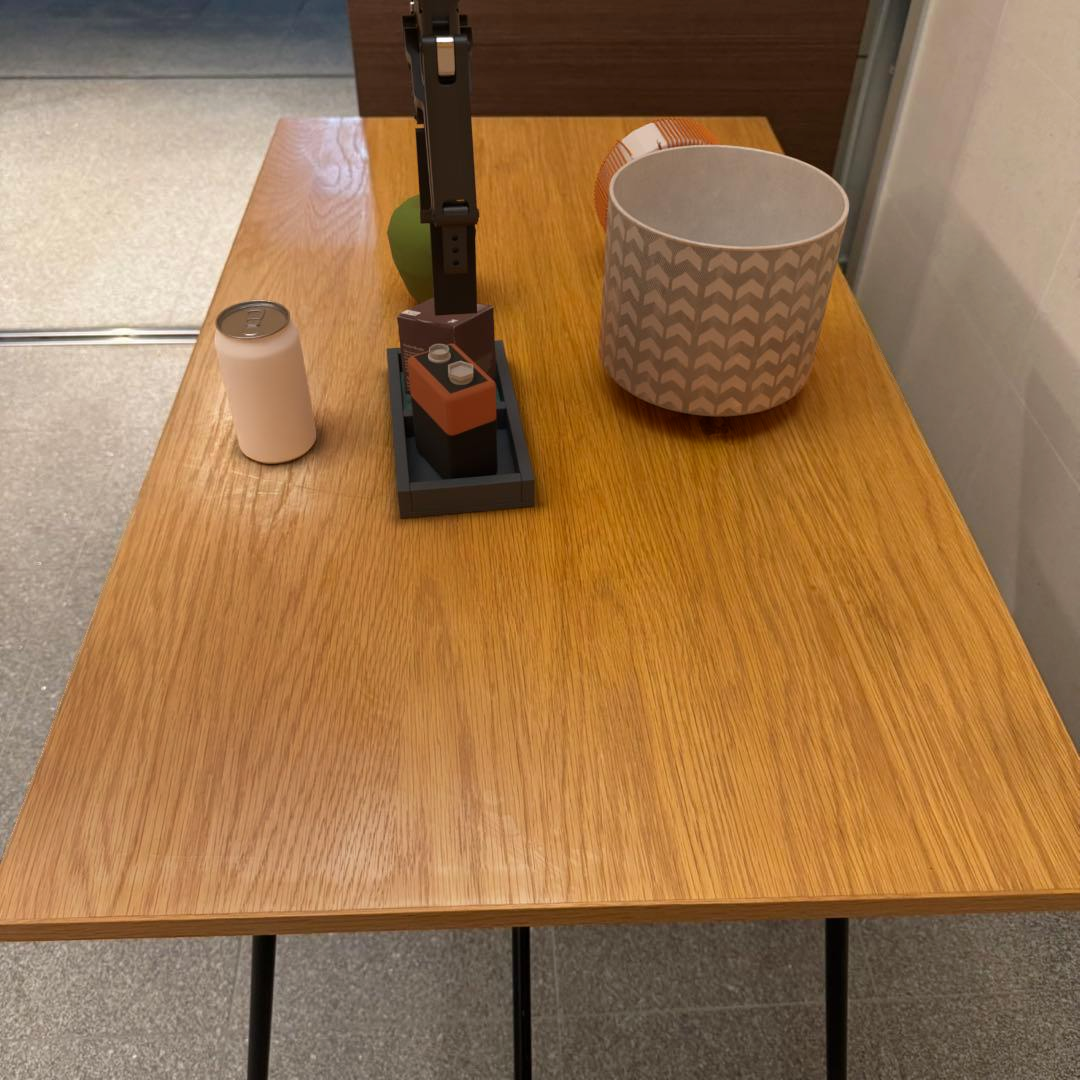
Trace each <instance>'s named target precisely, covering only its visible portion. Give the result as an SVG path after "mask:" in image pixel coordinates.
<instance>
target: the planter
mask: <svg viewBox="0 0 1080 1080" xmlns="http://www.w3.org/2000/svg"><path fill="white" fill-rule="evenodd" d="M849 212H850V200H849V197H848V194H847V193H846V191H845V189H844V188H843V187H842V186H841V184H840V183H838V181H836V179H835V178H833V177H832V176H830V175H829V174H828V173H826V172H825V171H824V170H821V169H820V168H818V167H816V166H814V165H812V164H811V163H810V164H809V163H807V162H805V161H804V160H803V161H802V160H800V159H798V158H794V157H792V156H788V155H786V154H783V153H782V154H781V153H778V152H774V151H770V150H765V149H760V148H754V147H748V146H747V147H746V146H739V145H729V144H722V145H691V146H681V147H673V148H668V149H663V150H658V151H655V152H651V153H648V154H645V155H642V156H640V157H637V158H635V159H633V160H631V161H630V162H628V163H626V164H625V165H623V166H622V167H621V168H620V169H619V170H618V171H617V172H616V173H615V174H614V175H613V177H612V179H611V182H610V185H609V197H608V213H607V229H606V233H605V247H604V260H603V261H604V263H603V277H602V278H603V279H602V295H601V310H600V311H601V313H600V327H599V342H598V352H599V358H600V361H601V365H602V366H603V368H604V370H605V371H606V373H607V374H608V376H609V377H610V378H611V379H612V380H613V381H614V382H615V383H616V385H618V386H619V387H621V388H622V389H623V390H625V391H626V392H628V393H629V394H631V395H632V396H634V397H636V398H638V399H640V400H642V401H645V402H646V403H649V404H651V405H654V406H656V407H659V408H661V409H666V410H669V411H673V412H677V413H682V414H688V415H692V416H693V415H695V416H702V417H703V416H704V417H735V416H736V417H737V416H745V415H751V414H755V413H760V412H764V411H767V410H770V409H773V408H775V407H778V406H780V405H783V404H784V403H786V402H787V401H789V400H791V399H792V398H793V397H795V396H797V394H798V393H800V392H801V391H802V389H803V388H804V387H805V386H806V384H807V382H808V380H809V379H810V376H811V373H812V369H813V365H814V360H815V356H816V351H817V349H818V345H819V344H818V343H819V340H820V334H821V331H822V327H823V322H824V318H825V314H826V310H827V306H828V302H829V297H830V293H831V289H832V284H833V280H834V276H835V272H836V268H837V263H838V259H839V255H840V251H841V248H842V242H843V239H844V234H845V230H846V225H847V222H848V217H849Z"/></svg>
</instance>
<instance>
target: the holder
mask: <svg viewBox="0 0 1080 1080" xmlns="http://www.w3.org/2000/svg"><path fill="white" fill-rule="evenodd" d="M495 354H496V377H497V383H496V422H497V464H498V470H497V473H496V474H495V475H491V476H480V477H469V478H457V479H446V480H444V479H443V478H442V477H441V476H440V475H439V474H438V473H437V471H436V470H435V469H434V468H433V467H432V466H431V465H430V464H429V462H428V461H427V460H426V459H425V458H424V457H423V456H422V455H421V453H420V452H419V451H418V450H417V448H416V444H415V434H414V423H413V413H412V402H411V395H410V394H406V393H405V387H404V379H403V368H402V359H401V349H400V347H387V348H386V360H387V361H386V363H387V374H388V389H389V400H390V414H391V429H392V440H393V441H392V442H393V455H394V468H395V469H394V470H395V481H396V494H397V503H398V511H399V518H400V519H410V518H421V517H433V516H443V515H453V514H454V515H455V514H463V513H475V512H477V513H478V512H488V511H497V510H509V509H518V508H530V507H535V491H536V489H535V487H536V486H535V483H536V482H535V481H536V480H535V475H534V471H533V466H532V463H531V458H530V457H531V456H530V453H529V449H528V445H527V441H526V435H525V431H524V427H523V424H522V419H521V415H520V410H519V406H518V401H517V397H516V393H515V389H514V385H513V384H514V383H513V381H512V376H511V371H510V368H509V362H508V359H507V354H506V350H505V346H504V340H503V339H497V340H496V339H495Z"/></svg>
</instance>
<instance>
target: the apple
mask: <svg viewBox="0 0 1080 1080" xmlns="http://www.w3.org/2000/svg"><path fill="white" fill-rule="evenodd" d="M386 235H387V239H388V240H387V241H388V242H389V243H388V244H389V249H390V253H391V258H392V261H393V263H394V265H395V268H396V269H397V271H398V273H399V276H400V278H401V280H402V282H403V285H404V286H405V288H406V290H407V292H408V294H409V295H410V296H411V297H412V298H413V299H414V300H415V302H417V303H418V305H419V304H421V303H423V302H425V301H427V300H429V299H431V298H433V297H434V294H433V276H432V259H431V241H430V223H425V224H421V223H420V197H419V194H416V195H414V196H411V197H408V198H407V199H405V200H404V201H403V202H401V204H400V205H398V206H397V207H396V208H395V209H394V210H393V212H392V214H391V216H390V219H389V223H388V226H387V230H386ZM476 236H477V228H476V227H475V237H476Z"/></svg>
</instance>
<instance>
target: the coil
mask: <svg viewBox="0 0 1080 1080" xmlns="http://www.w3.org/2000/svg"><path fill="white" fill-rule="evenodd" d="M691 145H723V143H721V141H720V140H719V139H718V138H717V136H716V135H715V134H714V133H713V132H712V131H711V130H710V129H708V128H707V127H706V126H704V125H703V124H701V123H699V122H697V121H693V120H692V119H689V118H685V117H682V118H681V117H680V116H679V117H676V116H674V117H672V116H670V117H668V116H666V117H665V118H664V117H661V118H659V117H658V118H657V119H656V118H653V120H652V122H650V123H647V124H645V125H642V126H641V127H638V128H636V129H634V130H633V131H632V132H630V133H629V134H628V135H626V136H625V137H623V138H622V139H620V138H617V139H616V142H615V143H614V146H613V145H612V146H611V149H609V150H608V153H606V156H605V157H603V160H602V161H601V164H600V166H599V169H598V172H597V174H596V175H597V176H596V178H595V182H594V184H595V185H594V189H593V192H594V193H593V196H594V198H593V200H594V205H595V206H594V207H595V212H596V216H597V218H598V220H599V223H600V225H601V227H602V229H603V231H604V233H605V234H606V229H607V213H608V197H609V185H610V182H611V179H612V177H613V175H614V174H615V173H616V172H617V171H618V170H619V169H620V168H621V167H622V166H623V165H625V164H626V163H628V162H630V161H631V160H633V159H635V158H637V157H640V156H642V155H645V154H648V153H651V152H655V151H658V150H663V149H668V148H673V147H681V146H691Z"/></svg>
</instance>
